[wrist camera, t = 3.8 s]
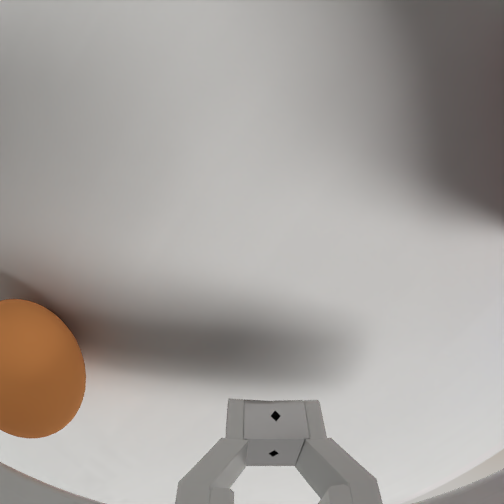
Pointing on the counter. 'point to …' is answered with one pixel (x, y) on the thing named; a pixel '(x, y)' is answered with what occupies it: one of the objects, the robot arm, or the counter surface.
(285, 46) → the counter surface
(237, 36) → the counter surface
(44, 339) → the ball
